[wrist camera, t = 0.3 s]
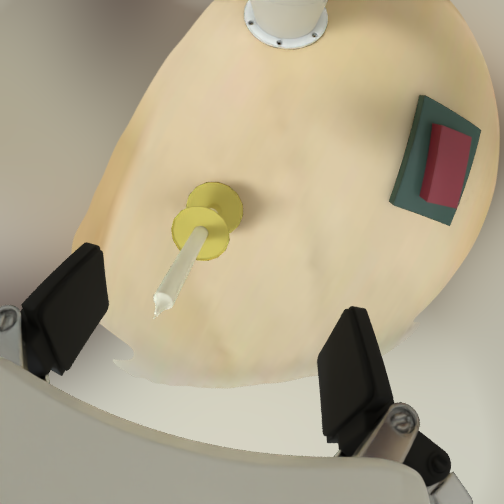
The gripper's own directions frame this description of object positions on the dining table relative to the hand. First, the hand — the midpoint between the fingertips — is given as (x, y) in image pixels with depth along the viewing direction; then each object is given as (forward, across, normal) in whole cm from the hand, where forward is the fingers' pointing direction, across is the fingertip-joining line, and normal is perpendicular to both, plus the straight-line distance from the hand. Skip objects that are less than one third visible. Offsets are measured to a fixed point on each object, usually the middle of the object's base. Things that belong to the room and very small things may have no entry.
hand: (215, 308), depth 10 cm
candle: (+36, +6, +11) cm, 38 cm away
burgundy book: (+34, -30, -8) cm, 46 cm away
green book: (+36, -30, -8) cm, 47 cm away
